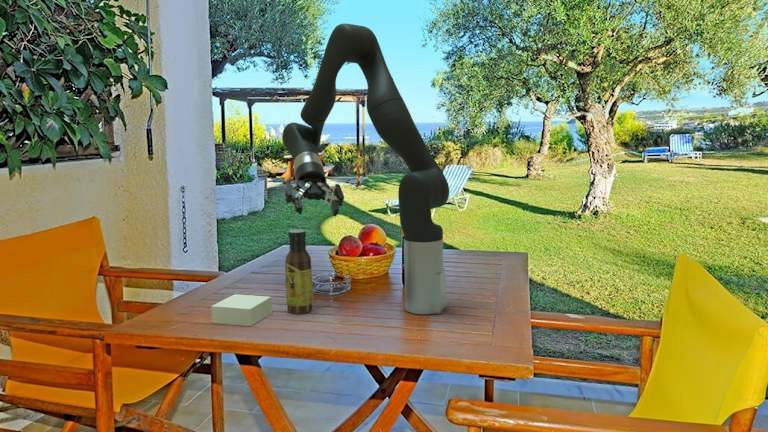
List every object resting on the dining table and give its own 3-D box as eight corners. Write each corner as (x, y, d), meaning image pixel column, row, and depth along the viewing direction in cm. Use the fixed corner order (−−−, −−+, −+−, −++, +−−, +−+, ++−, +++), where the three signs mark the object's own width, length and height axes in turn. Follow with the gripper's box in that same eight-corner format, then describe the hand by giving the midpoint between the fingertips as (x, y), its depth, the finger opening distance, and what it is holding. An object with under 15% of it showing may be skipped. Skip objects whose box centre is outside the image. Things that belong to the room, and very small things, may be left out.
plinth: (272, 312, 141) (271, 296, 141) (250, 326, 132) (249, 309, 131) (235, 310, 144) (234, 294, 144) (212, 322, 135) (211, 306, 134)
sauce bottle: (284, 309, 144) (280, 229, 141) (309, 305, 146) (305, 227, 143) (291, 316, 138) (287, 233, 135) (316, 312, 140) (313, 230, 138)
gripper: (284, 158, 148) (291, 198, 136) (338, 162, 153) (350, 202, 141) (279, 182, 152) (286, 222, 140) (333, 185, 157) (343, 225, 145)
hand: (318, 212), depth 141 cm, fingers open, 8 cm apart
